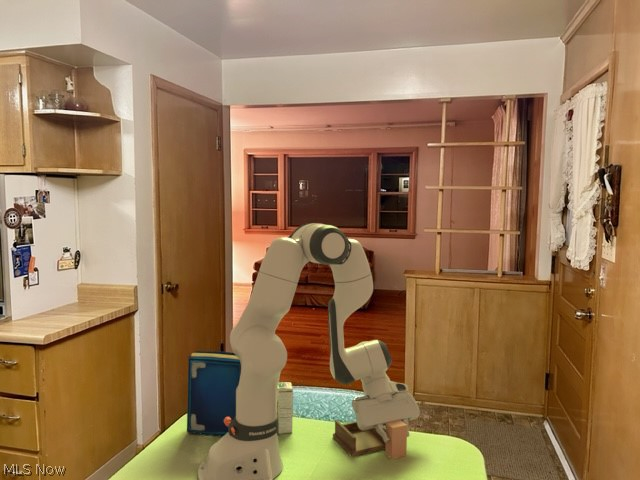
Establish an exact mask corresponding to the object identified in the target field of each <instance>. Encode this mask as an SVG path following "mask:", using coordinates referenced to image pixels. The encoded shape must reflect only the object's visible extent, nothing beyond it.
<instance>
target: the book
mask: <svg viewBox="0 0 640 480" xmlns="http://www.w3.org/2000/svg"><path fill="white" fill-rule="evenodd" d="M187 360H188V361H187V362H188V363H187V364H188V365H187V403H186V404H187V413H186V414H187V415H186V433H189V434H197V435H198V434H199V435H206V436H218V437H223V436H224V435H225V434H227V433H228V426H226V425H225V423H224V419H225V417H230V418H231V420H233V419H234V418H235V416H236V388H237V386H238V385H239V380H240V375H241V363H240V360H239V358H238V357H237V356H236V355H235V354H234V352H228V351H219V350H218V351H217V350H195V351H194V352H192V353H191V355H188V359H187Z"/></svg>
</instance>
